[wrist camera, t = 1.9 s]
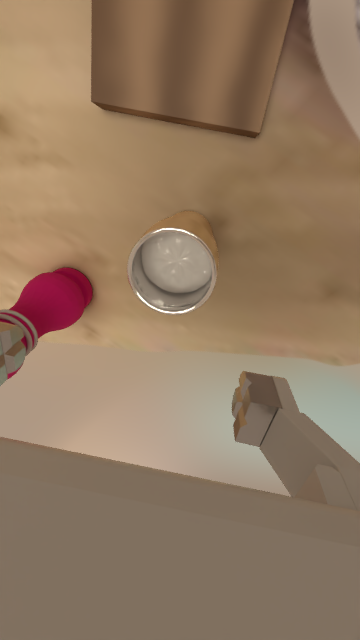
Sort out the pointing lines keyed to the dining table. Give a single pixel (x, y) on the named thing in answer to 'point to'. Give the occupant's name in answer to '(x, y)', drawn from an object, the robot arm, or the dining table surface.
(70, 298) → the pepper mill
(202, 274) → the beer glass
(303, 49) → the dining table surface
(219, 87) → the walnut base
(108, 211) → the dining table surface
